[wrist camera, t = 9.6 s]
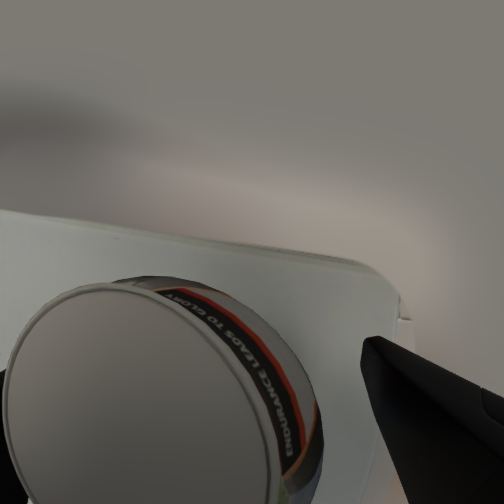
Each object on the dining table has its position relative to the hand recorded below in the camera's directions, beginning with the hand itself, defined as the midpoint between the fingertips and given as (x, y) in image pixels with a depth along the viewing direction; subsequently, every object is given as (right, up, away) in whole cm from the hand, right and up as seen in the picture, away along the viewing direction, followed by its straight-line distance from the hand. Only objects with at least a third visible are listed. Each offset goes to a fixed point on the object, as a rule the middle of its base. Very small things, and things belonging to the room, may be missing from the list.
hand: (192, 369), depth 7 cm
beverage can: (+1, -5, +6) cm, 8 cm away
